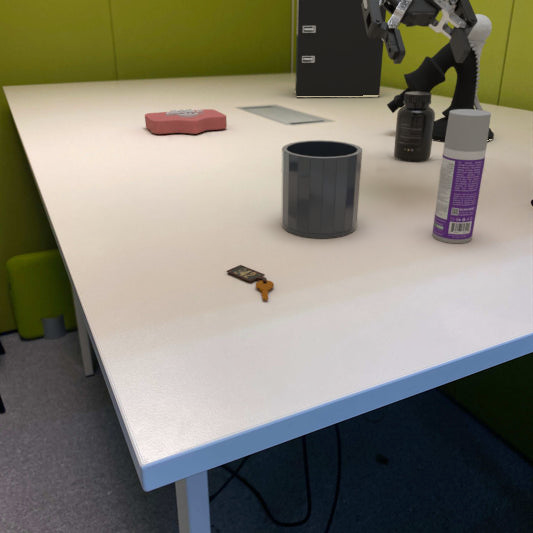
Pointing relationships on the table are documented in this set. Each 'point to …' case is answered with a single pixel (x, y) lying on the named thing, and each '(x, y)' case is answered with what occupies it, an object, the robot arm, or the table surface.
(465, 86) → the sculpture
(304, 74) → the binder
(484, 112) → the container
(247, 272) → the key tag
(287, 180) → the grey cylindrical cup
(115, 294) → the table surface
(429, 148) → the supplement bottle
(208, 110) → the red sponge
